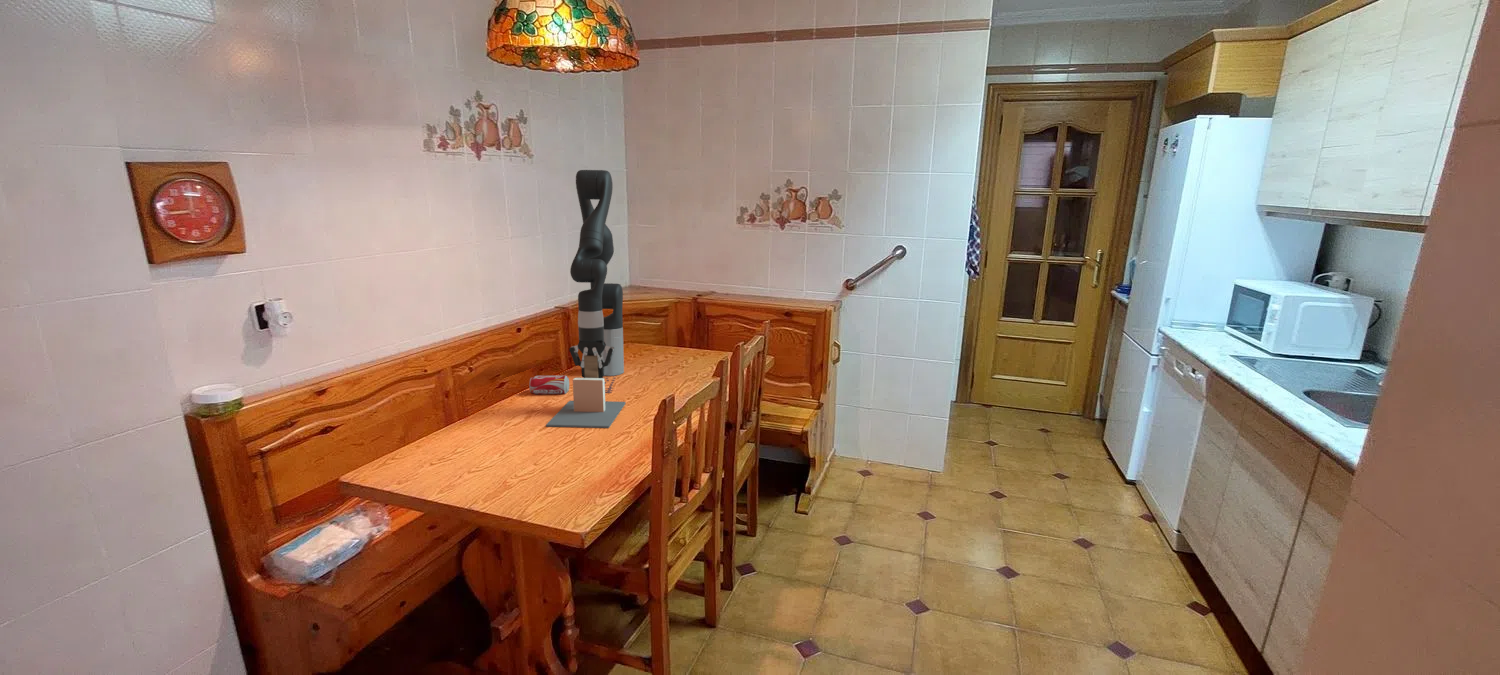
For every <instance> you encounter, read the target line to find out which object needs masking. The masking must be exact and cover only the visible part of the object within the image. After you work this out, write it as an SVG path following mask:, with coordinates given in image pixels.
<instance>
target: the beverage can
mask: <svg viewBox="0 0 1500 675" xmlns="http://www.w3.org/2000/svg"><path fill="white" fill-rule="evenodd" d="M569 379H570V378H569V377H568V376H567V375H535V376H533V377H530V378H529V387H528V388H529V392H530V393H532V394H534V395H566V394H567V393H568V392H569V390H570V380H569Z"/></svg>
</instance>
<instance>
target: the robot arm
mask: <svg viewBox="0 0 1500 675" xmlns="http://www.w3.org/2000/svg"><path fill="white" fill-rule="evenodd" d="M612 178H613V177H612V175H611V172H610V171H608V170H605V169H579V170H578V171H577V172H576V174H575V189H576V194H577V198H578V203H579V206H580V207H579V208H580V213H581V218H582V226H581V228H580V232H579V241H578V242H579V243H578V249H577V252H576V253H575V255H574V258H573V260H572V262H571V266H570V269H569V270H570V277H571V278H572V280H573V281H574V282H576V283H580V284H581V283H583V284H584V283H586V284H587V283H588V284H589V283H590V289H583V290H582V291H581V290H580V291H579V292H578V295H577V304H578V307H577V308H578V314H577V327H578V328H577V329H578V343H577V345H572V346H570V347H569V349H568V350H569V353H570V355H571V357H572V358H571V359H572V360H573V363H574V365H575V366H576V367H580V370H581V378H585V371H584V356H587V355H595V356H597V357H598V358H597V361H598V367H599V368H598V376H599V378H605V377H606V376H608V377H615V376H619V375H623V374H624V373H625V360H624V357H625V356H624V355H625V354H624V352H625V351H624V327H623V320H624V318H623V306H624V304H623V302H624V301H623V300H624V292H623V290H624V289H623V287H622V285H621V283H620V284H619V283H611V282H610V283H609V282H607V283H605V282H606V279H607V274H608V264H609V263H610V262H611V259H612V258H613V256H614V251H615V249H614V239H613V233H612V231H611V230H610V228H609V227H608V226H607V224H606V223H607V218H608V214H609V210H610V205H611V200H612V195H613V186H614V185H613V179H612ZM591 200H594V201H595V200H597V201H598V203H597V204H596V206H595V208H594V206H593V204H592V201H591ZM603 310H612V313H610V314H609V315H607V316H604V313H603ZM579 350H580V352H581V354H582V358H580V356H579V353H578V352H579ZM599 356H600V357H599Z"/></svg>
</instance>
